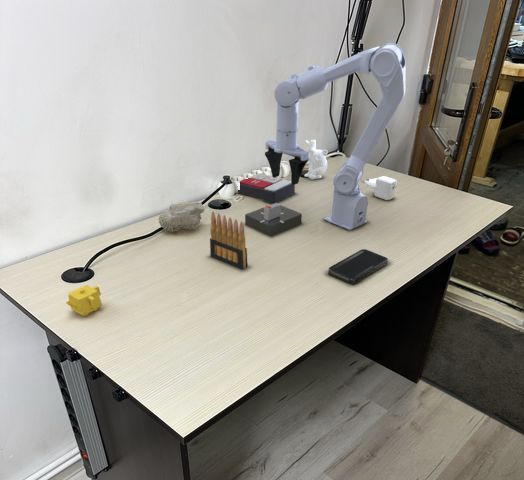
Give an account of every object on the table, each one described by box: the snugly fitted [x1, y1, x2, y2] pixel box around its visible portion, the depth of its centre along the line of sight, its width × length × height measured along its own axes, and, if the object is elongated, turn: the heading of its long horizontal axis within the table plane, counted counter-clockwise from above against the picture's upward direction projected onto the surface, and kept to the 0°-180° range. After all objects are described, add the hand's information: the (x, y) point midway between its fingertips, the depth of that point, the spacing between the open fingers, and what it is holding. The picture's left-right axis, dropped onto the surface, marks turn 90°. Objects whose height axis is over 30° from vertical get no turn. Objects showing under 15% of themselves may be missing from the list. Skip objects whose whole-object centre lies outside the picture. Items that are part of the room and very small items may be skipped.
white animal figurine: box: [304, 139, 329, 180], centre depth 166 cm, size 8×7×12 cm
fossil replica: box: [158, 201, 205, 233], centre depth 135 cm, size 12×8×10 cm
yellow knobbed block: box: [65, 284, 102, 317], centre depth 104 cm, size 8×6×5 cm
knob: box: [263, 202, 282, 221], centre depth 135 cm, size 5×2×4 cm, turn 133°
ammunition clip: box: [209, 210, 249, 271], centre depth 119 cm, size 11×2×12 cm, turn 52°
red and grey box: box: [237, 173, 296, 204], centre depth 157 cm, size 11×4×15 cm
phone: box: [327, 248, 389, 285], centre depth 120 cm, size 8×1×15 cm
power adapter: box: [360, 175, 398, 201], centre depth 156 cm, size 11×5×6 cm, turn 44°
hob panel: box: [244, 205, 303, 238], centre depth 139 cm, size 11×12×3 cm
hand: (285, 180), depth 141 cm, fingers open, 7 cm apart
